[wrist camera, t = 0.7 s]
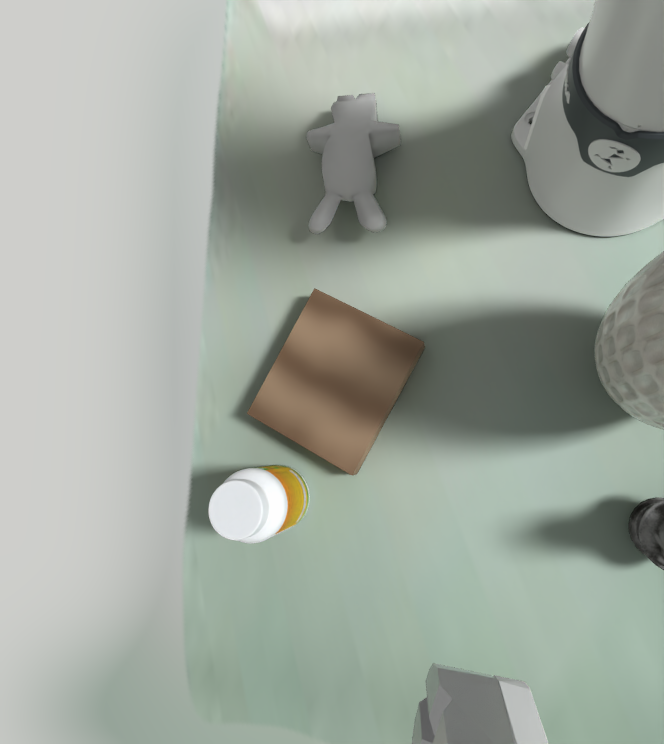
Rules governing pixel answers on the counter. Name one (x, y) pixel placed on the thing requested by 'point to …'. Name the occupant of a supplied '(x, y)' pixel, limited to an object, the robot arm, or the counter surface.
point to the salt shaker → (649, 529)
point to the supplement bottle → (259, 503)
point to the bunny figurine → (352, 160)
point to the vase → (635, 346)
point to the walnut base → (336, 381)
